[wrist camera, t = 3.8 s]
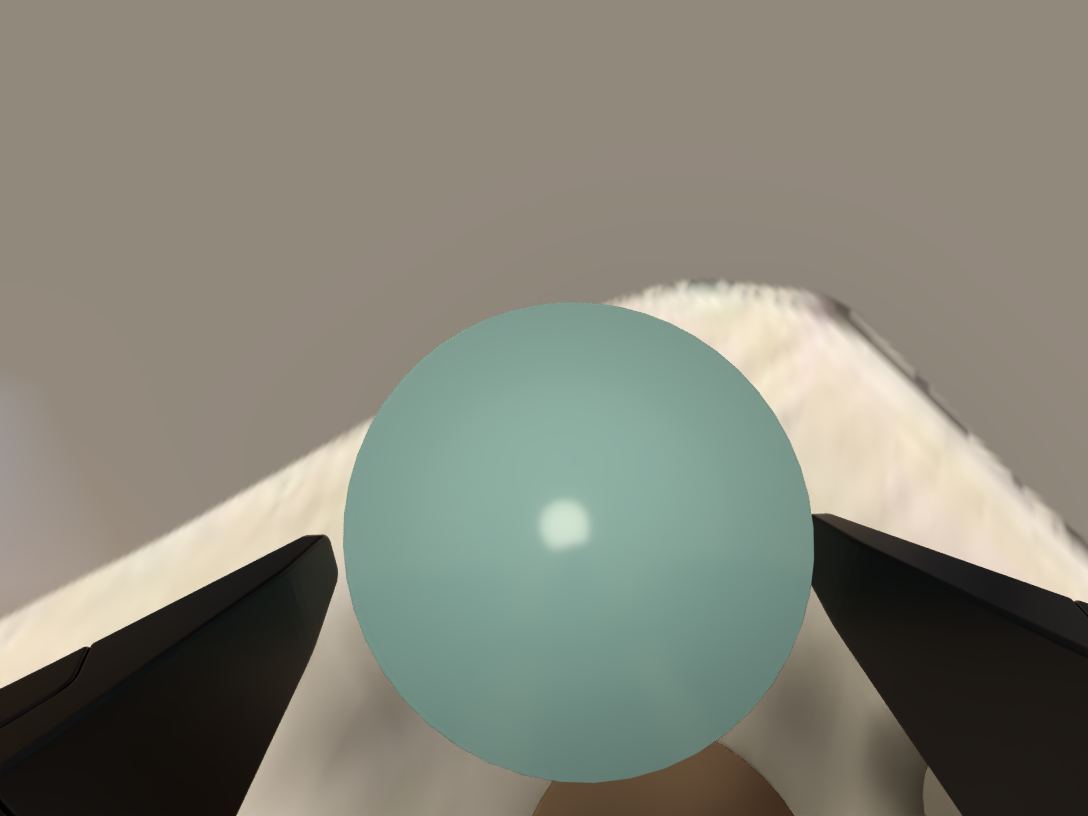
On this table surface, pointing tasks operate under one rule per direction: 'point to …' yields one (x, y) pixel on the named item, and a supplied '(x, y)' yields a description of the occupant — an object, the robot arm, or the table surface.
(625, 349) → the teal round cylinder
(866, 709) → the table surface
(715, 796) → the coaster
